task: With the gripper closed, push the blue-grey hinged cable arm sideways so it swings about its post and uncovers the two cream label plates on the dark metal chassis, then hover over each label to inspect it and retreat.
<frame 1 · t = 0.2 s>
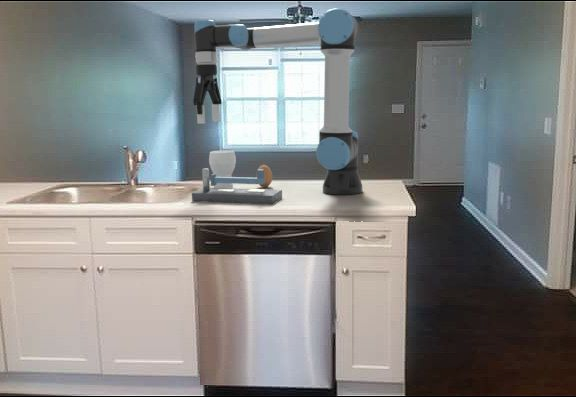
hand: (208, 122, 211), 27 cm above the countertop, fingers open, 13 cm apart
chassis: (237, 199, 203), on the countertop
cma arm: (237, 177, 201), point 8 cm above the countertop, hinge at 0.0°
cup: (223, 189, 226), on the countertop
egg: (264, 187, 229), on the countertop
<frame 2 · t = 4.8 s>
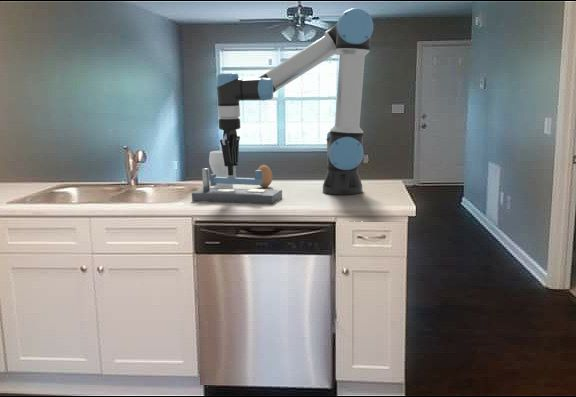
hand: (232, 183, 203), 6 cm above the countertop, fingers closed
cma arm: (236, 178, 200), point 8 cm above the countertop, hinge at 5.4°, touching gripper
everything else where it was.
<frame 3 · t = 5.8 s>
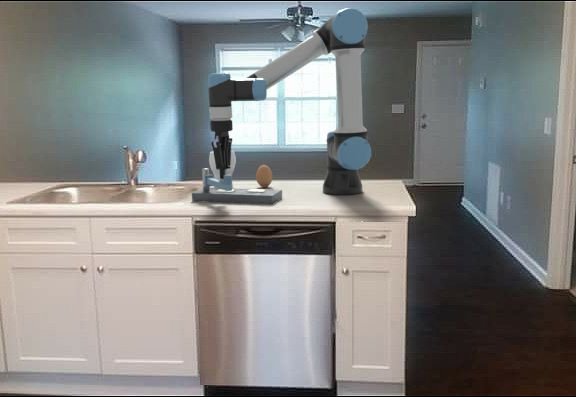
hand: (224, 187, 196), 5 cm above the countertop, fingers closed
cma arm: (218, 181, 194), point 8 cm above the countertop, hinge at 45.9°, touching gripper
everything else where it was.
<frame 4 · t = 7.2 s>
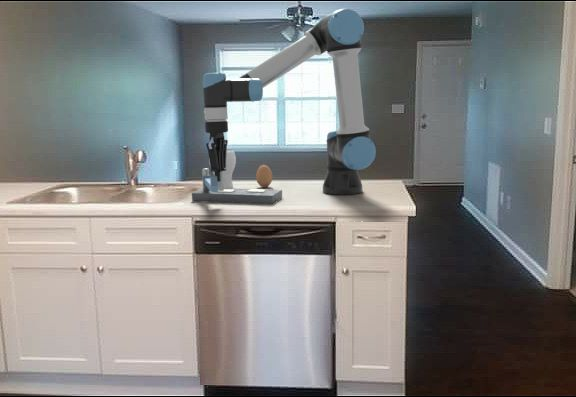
hand: (219, 190, 191), 5 cm above the countertop, fingers closed
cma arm: (210, 181, 193), point 8 cm above the countertop, hinge at 58.6°, touching gripper
everything else where it was.
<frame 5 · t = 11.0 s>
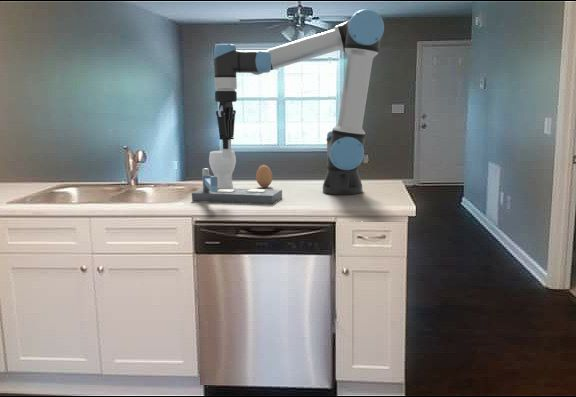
hand: (227, 157, 200), 15 cm above the countertop, fingers closed
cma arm: (210, 181, 193), point 8 cm above the countertop, hinge at 58.6°
everything else where it was.
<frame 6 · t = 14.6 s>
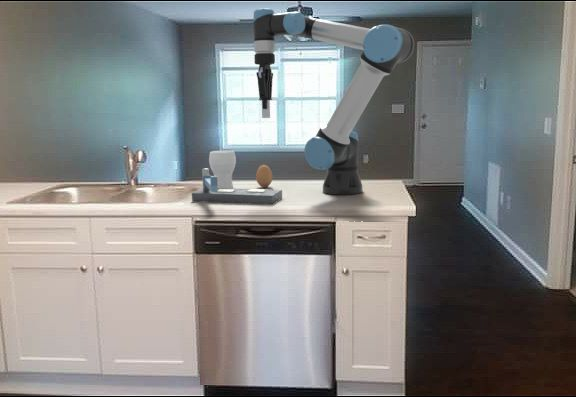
hand: (266, 117, 212), 28 cm above the countertop, fingers closed
nothing on the countertop moved.
at the end: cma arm at +59° (first picture: +0°) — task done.
